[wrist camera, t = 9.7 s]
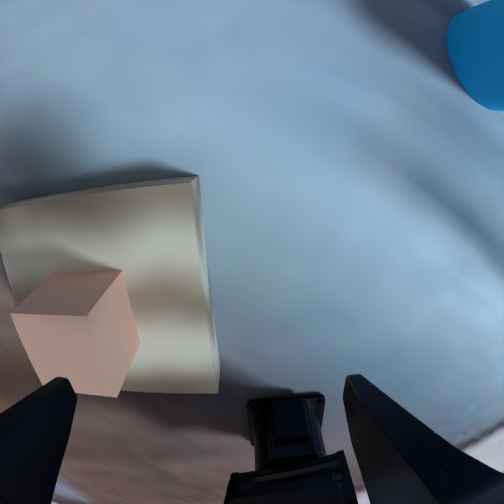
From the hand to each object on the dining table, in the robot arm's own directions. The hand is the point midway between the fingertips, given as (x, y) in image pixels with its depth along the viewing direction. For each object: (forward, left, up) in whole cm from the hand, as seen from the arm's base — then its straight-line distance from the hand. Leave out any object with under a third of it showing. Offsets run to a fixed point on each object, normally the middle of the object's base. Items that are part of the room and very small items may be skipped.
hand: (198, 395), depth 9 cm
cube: (-2, +8, -9) cm, 12 cm away
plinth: (-2, +8, -12) cm, 15 cm away
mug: (+14, -22, -12) cm, 29 cm away
